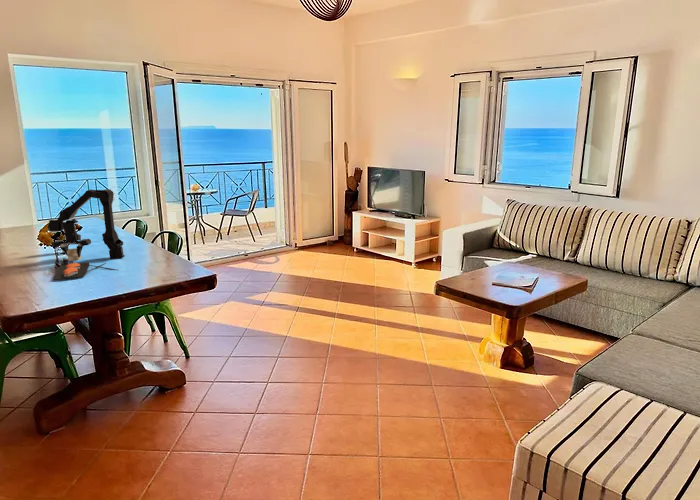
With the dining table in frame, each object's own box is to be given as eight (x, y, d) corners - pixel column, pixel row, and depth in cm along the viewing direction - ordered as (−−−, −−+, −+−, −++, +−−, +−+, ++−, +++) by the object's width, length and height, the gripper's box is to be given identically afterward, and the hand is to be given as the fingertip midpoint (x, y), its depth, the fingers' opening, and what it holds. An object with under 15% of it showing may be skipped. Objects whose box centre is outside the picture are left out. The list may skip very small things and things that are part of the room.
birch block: (81, 258, 281) (79, 248, 279) (77, 260, 276) (76, 250, 275) (71, 258, 280) (70, 248, 279) (68, 260, 275) (66, 250, 274)
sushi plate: (60, 268, 262) (59, 261, 261) (121, 261, 273) (120, 255, 273) (52, 283, 236) (51, 276, 235) (119, 275, 248) (118, 267, 247)
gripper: (92, 227, 283) (96, 252, 287) (58, 229, 280) (63, 254, 284) (85, 231, 272) (89, 257, 276) (49, 233, 270) (54, 259, 273)
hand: (74, 257), depth 278 cm, fingers open, 5 cm apart
